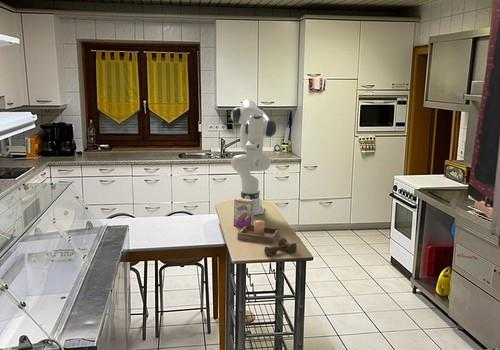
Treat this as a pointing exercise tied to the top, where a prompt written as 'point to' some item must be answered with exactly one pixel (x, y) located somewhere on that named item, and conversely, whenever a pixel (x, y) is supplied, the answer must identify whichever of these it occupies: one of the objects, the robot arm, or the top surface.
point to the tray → (248, 235)
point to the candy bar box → (243, 212)
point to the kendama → (281, 247)
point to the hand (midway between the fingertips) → (254, 167)
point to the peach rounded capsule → (259, 227)
